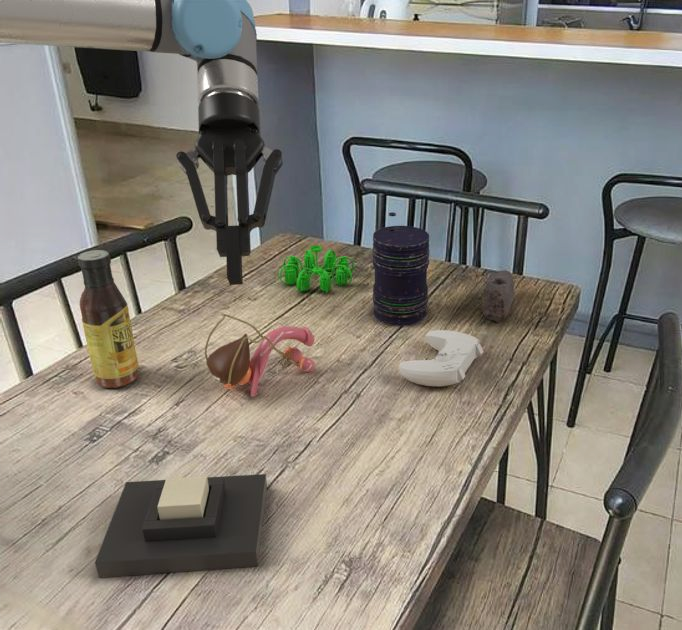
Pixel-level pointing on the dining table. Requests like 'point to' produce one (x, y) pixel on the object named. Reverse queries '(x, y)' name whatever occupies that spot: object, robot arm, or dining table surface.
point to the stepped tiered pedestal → (185, 530)
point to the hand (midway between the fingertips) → (235, 280)
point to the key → (183, 498)
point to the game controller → (443, 359)
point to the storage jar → (400, 274)
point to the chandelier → (316, 270)
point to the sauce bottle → (106, 323)
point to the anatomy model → (255, 356)
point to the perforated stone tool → (498, 296)
